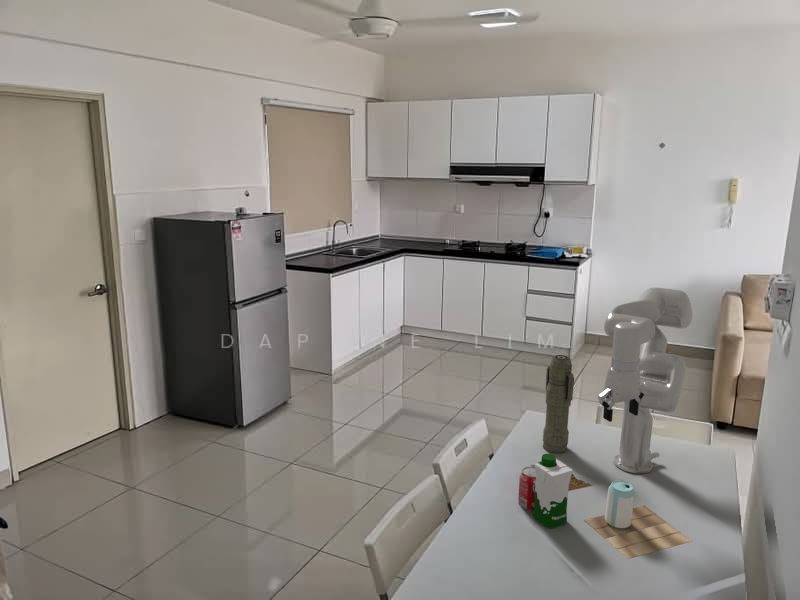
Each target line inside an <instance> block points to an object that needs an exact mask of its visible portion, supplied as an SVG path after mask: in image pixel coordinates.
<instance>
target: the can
mask: <svg viewBox="0 0 800 600" xmlns="http://www.w3.org/2000/svg"><path fill="white" fill-rule="evenodd" d="M634 502H635V490H634V487H633V485H632V484H631V483H629V482H627V481H625V480H620V479H619V480H618V479H617V480H614V481H612V482H611V484H610V485H609V486H608V488H607V496H606V506H605V514H604V515H605V520H606V522H607V523H608V524H610V525H611V526H613V527H615V528H627V527H629V526H630V525H631V518H632V511H633V508H634Z"/></svg>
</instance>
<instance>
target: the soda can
mask: <svg viewBox="0 0 800 600" xmlns="http://www.w3.org/2000/svg"><path fill="white" fill-rule="evenodd" d="M535 487H536V474H535V467H532V466H526V467H523V469H522V471H521V472H520V474H519V482H518V495H517V496H518V498H517V499H518V505H519V506H520V507H521V508H522V509H524V510H527V511H534V502H535Z"/></svg>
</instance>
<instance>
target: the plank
mask: <svg viewBox="0 0 800 600" xmlns="http://www.w3.org/2000/svg"><path fill="white" fill-rule="evenodd" d="M583 521H584V522H585V523H586V524H587V525H588V526H590V527H591V528H592V529H593V530H594V531H596V533H598V534H599V535H600V536H601V537H602V538H604V539H607V538H611V537H615V536H619V535H623V534H626V533H630V532H634V531H638V530H642V529H646V528H649V527H653V526H657V525H661V524H665V523H667V521H666V520H665V519H664V518H662V517H661V516H659V515H658V514H657V513H656V512H654V511H653V510H651V509H650V508H649V507H648V506H646V505H640V506H635V507H633V511H632V518H631V525H630V526H629V527H627V528H615V527H613V526H611V525H610V524H608V523H607V522H606V520H605V514H604V515H599V516H596V517H595V516H594V517H590V518H588V519H584V520H583Z"/></svg>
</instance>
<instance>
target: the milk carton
mask: <svg viewBox="0 0 800 600" xmlns="http://www.w3.org/2000/svg"><path fill="white" fill-rule="evenodd" d="M533 465H535V474H536V487H535V502H534V510H532V511H533V512H532V517H533V518H534V519H535V520H536V521H538V523H540V524H541V525H543V526H544V527H545V528H546V529H548V530H549V529H550V530H551V529H554V528H557V527H560V526H562V525H566V524H567V523H568V512H567V511H568V510H567V509H568V497H569V496H568V495H569V490H568V487H569V482H570V478H571V475H572V474H573V472H574V470H573V469H572V468H570V467H569V466H568V465H567V464H564V463H563V462H562V461H560V460H558V459H557V457H556V455H554V454H553V453H544V454H542V455H541V460H540V461H539V462H536V463H534V464H533Z"/></svg>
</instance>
